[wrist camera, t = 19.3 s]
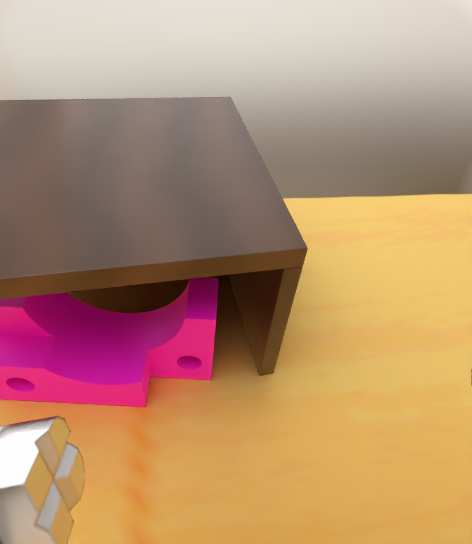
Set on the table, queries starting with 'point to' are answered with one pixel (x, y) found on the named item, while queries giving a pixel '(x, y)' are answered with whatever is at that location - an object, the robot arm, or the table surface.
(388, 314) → the table surface
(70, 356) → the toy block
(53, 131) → the shelf
